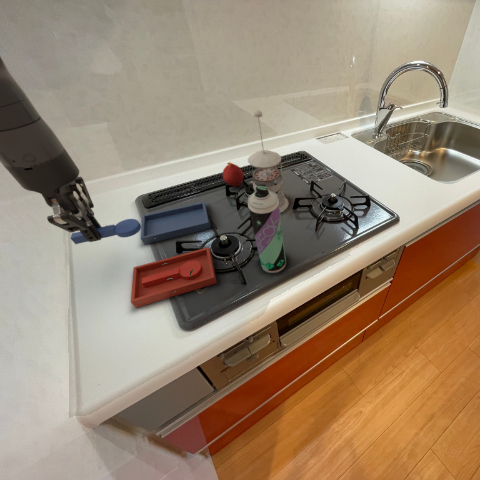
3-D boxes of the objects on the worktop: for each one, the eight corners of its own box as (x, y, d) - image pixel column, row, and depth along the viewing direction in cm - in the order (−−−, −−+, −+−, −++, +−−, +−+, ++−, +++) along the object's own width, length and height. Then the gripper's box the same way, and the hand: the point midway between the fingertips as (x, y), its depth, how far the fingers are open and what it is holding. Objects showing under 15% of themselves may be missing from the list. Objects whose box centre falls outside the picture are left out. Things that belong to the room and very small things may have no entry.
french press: (246, 210, 74) (224, 115, 56) (266, 187, 81) (253, 98, 64) (279, 218, 71) (266, 121, 54) (296, 194, 79) (291, 103, 61)
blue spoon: (73, 249, 50) (68, 243, 49) (78, 234, 53) (73, 228, 52) (140, 234, 54) (137, 228, 53) (141, 220, 57) (138, 214, 55)
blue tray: (144, 244, 64) (140, 238, 63) (145, 221, 70) (142, 215, 69) (210, 228, 68) (208, 222, 67) (206, 207, 74) (204, 201, 73)
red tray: (135, 307, 52) (130, 302, 51) (137, 273, 58) (133, 267, 57) (216, 283, 56) (214, 277, 55) (211, 253, 62) (208, 247, 61)
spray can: (258, 258, 61) (241, 182, 47) (281, 251, 63) (271, 176, 49) (265, 276, 58) (248, 199, 44) (289, 268, 59) (281, 192, 45)
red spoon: (144, 293, 54) (141, 289, 53) (145, 277, 57) (141, 272, 55) (203, 276, 57) (201, 271, 56) (201, 261, 60) (199, 256, 59)
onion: (236, 179, 85) (231, 155, 79) (249, 185, 82) (244, 161, 77) (222, 187, 81) (215, 163, 76) (235, 194, 79) (228, 169, 73)
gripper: (17, 138, 44) (80, 220, 56) (-20, 180, 35) (65, 267, 47) (71, 131, 46) (121, 211, 58) (50, 169, 37) (115, 255, 49)
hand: (96, 236), depth 53 cm, fingers closed on blue spoon, 1 cm apart
